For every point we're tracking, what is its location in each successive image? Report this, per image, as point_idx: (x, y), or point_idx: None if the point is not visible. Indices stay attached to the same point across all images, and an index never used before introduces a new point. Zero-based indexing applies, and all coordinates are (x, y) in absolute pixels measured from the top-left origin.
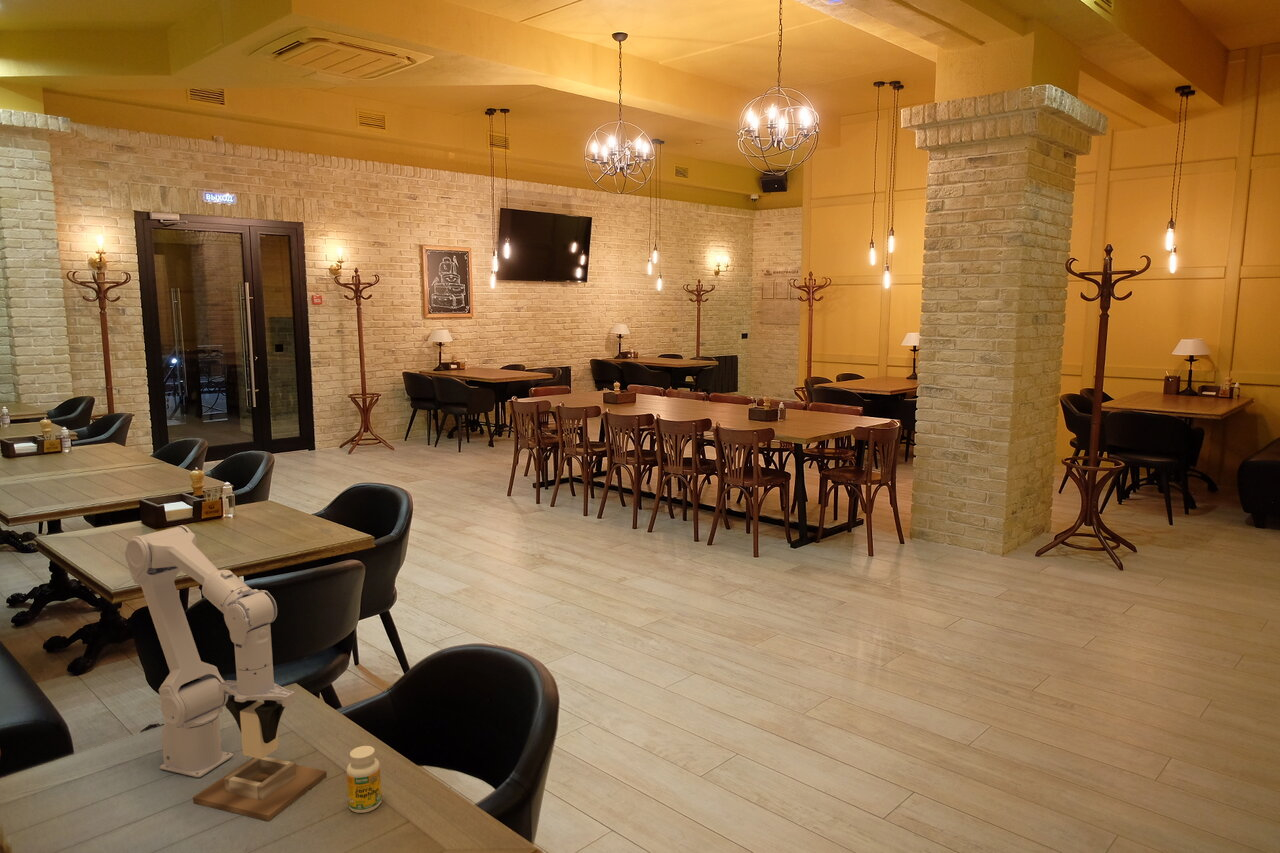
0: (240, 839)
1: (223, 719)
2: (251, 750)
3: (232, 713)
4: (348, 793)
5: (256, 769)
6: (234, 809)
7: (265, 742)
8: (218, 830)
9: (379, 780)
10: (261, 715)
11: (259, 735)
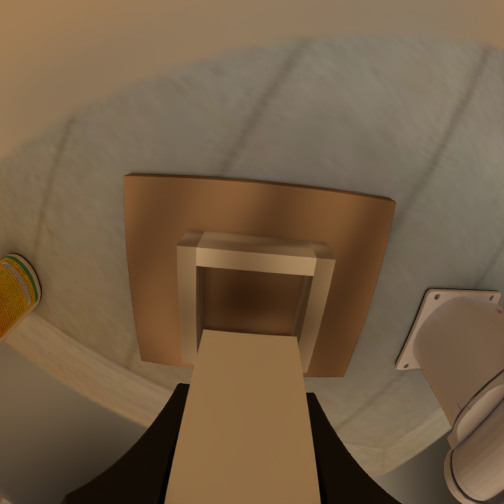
0: (146, 89)
1: (446, 417)
2: (251, 352)
3: (373, 490)
4: (5, 274)
5: (294, 335)
6: (245, 180)
7: (185, 386)
8: (231, 100)
9: None
10: (112, 502)
11: (189, 407)
